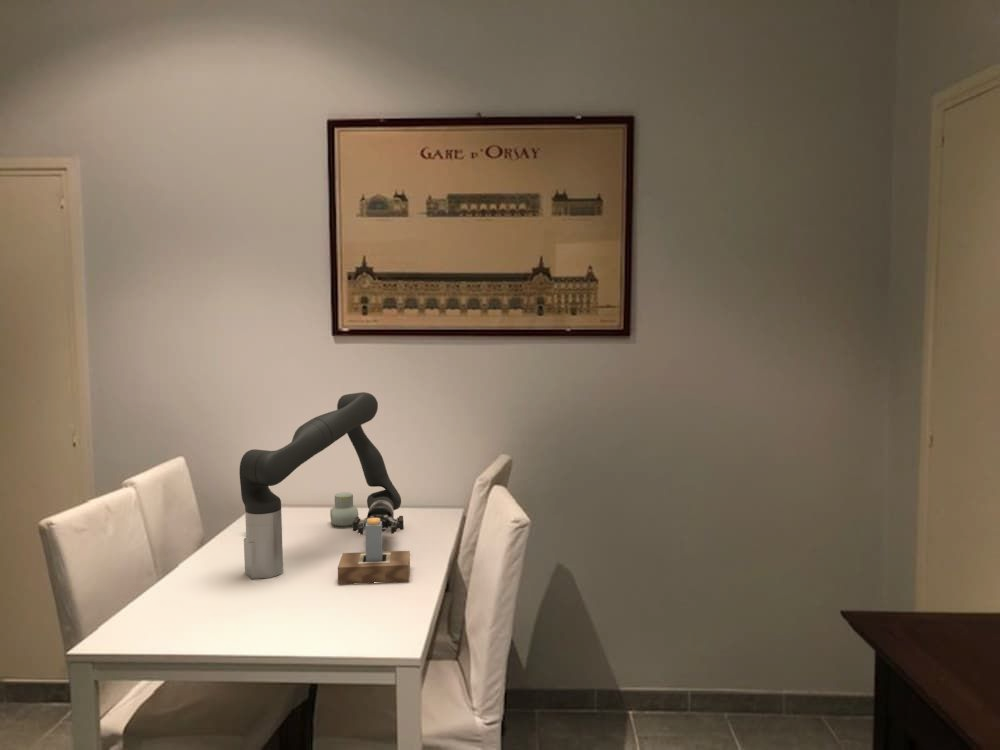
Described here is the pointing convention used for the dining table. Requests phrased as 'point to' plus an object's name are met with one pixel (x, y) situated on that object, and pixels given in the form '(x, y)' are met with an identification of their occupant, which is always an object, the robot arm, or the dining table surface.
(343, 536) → the dining table surface
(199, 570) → the dining table surface
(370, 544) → the peg
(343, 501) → the air freshener
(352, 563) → the socket block
